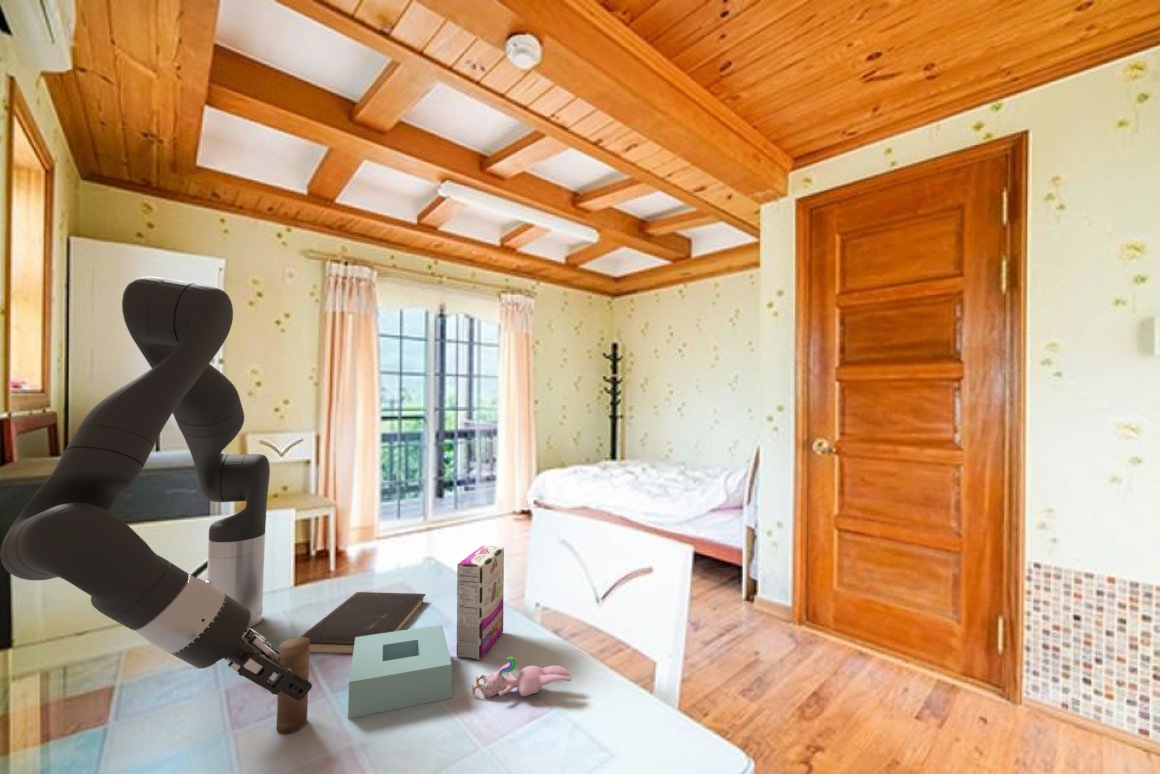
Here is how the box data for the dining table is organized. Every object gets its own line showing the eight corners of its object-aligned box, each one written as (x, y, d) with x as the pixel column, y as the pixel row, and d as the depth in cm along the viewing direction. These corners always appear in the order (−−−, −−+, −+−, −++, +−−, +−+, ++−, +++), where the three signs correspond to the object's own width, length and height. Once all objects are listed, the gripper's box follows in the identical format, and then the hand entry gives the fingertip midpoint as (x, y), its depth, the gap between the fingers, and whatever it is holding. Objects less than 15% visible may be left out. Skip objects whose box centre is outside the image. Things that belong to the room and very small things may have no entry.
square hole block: (347, 718, 69) (349, 681, 69) (354, 667, 82) (355, 637, 82) (450, 698, 74) (451, 664, 74) (441, 653, 87) (442, 624, 87)
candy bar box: (479, 629, 96) (481, 544, 97) (503, 632, 95) (505, 546, 96) (453, 658, 85) (456, 562, 86) (480, 661, 84) (483, 565, 85)
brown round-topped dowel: (273, 736, 65) (276, 651, 65) (279, 720, 68) (282, 639, 68) (304, 730, 66) (307, 647, 66) (308, 714, 69) (311, 635, 70)
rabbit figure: (471, 714, 72) (571, 700, 72) (465, 673, 72) (565, 659, 72) (480, 689, 78) (573, 676, 78) (475, 652, 79) (568, 639, 78)
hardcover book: (425, 604, 109) (425, 593, 109) (380, 657, 86) (380, 644, 86) (354, 602, 110) (354, 591, 110) (290, 654, 87) (290, 641, 87)
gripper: (235, 609, 57) (336, 672, 64) (210, 577, 66) (301, 636, 74) (174, 673, 53) (289, 733, 60) (157, 630, 62) (258, 685, 70)
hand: (295, 679), depth 67 cm, fingers open, 8 cm apart
